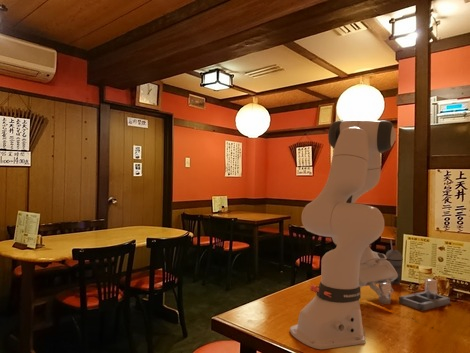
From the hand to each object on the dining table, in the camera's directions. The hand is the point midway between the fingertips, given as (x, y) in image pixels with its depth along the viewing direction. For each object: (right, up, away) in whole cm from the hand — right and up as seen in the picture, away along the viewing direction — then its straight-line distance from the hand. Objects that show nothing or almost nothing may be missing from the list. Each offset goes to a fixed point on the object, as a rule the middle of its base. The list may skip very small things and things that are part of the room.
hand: (386, 293), depth 125 cm
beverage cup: (+14, -5, +25) cm, 29 cm away
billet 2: (+17, -4, +2) cm, 18 cm away
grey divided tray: (+14, -5, 0) cm, 15 cm away
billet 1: (0, -4, 0) cm, 4 cm away
